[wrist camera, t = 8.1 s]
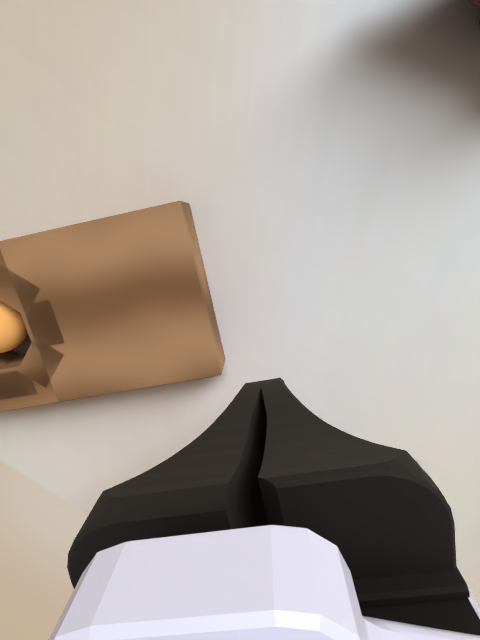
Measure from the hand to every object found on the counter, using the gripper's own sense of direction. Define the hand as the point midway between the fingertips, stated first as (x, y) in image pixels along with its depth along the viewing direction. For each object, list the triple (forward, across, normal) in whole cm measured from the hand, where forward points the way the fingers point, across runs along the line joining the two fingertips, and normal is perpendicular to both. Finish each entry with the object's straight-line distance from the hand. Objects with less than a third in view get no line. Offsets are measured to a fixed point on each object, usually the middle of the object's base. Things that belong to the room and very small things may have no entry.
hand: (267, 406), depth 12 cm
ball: (+9, +16, -3) cm, 19 cm away
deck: (+10, +12, -3) cm, 16 cm away
